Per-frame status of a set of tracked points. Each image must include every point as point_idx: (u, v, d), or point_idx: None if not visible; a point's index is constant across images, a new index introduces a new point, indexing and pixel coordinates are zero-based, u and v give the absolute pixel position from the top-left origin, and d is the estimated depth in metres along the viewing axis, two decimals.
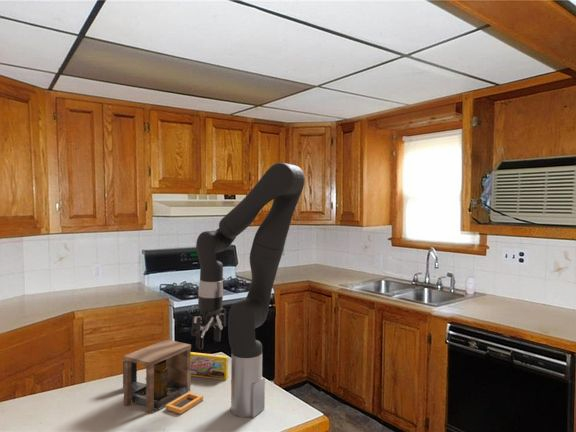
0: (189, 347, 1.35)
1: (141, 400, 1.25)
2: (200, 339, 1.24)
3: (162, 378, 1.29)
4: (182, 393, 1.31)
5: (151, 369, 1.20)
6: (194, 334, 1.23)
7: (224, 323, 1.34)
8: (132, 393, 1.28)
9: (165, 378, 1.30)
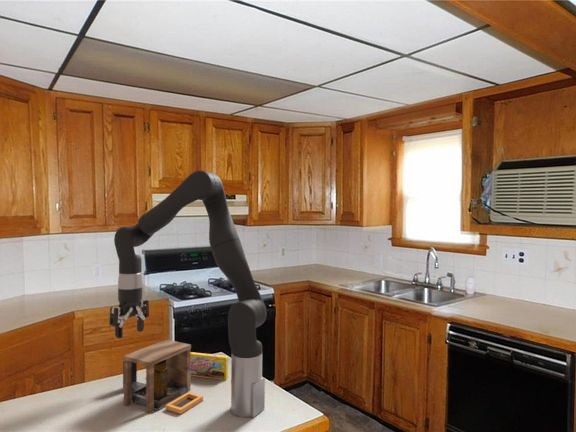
0: (189, 347, 1.35)
1: (141, 400, 1.25)
2: (119, 328, 1.31)
3: (162, 378, 1.29)
4: (182, 393, 1.31)
5: (151, 369, 1.20)
6: (112, 324, 1.30)
7: (147, 314, 1.41)
8: (132, 393, 1.28)
9: (165, 378, 1.30)
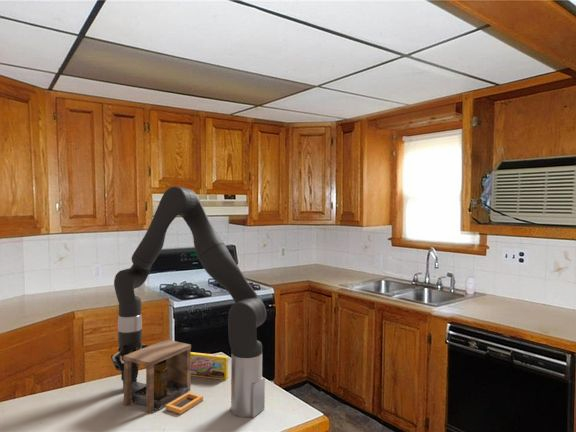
0: (189, 347, 1.35)
1: (141, 400, 1.25)
2: None
3: (162, 378, 1.29)
4: (182, 393, 1.31)
5: (151, 369, 1.20)
6: (118, 368, 1.32)
7: None
8: (132, 393, 1.28)
9: (165, 378, 1.30)
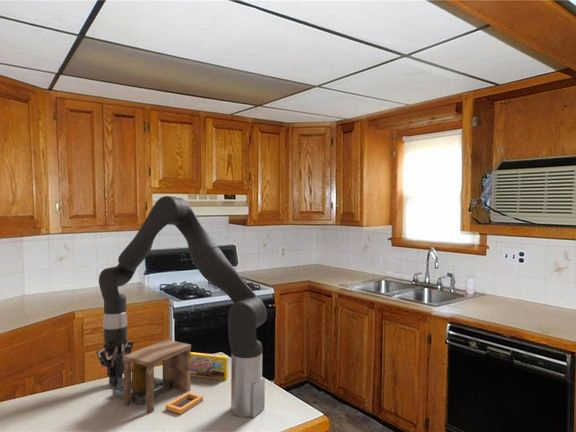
0: (189, 347, 1.35)
1: None
2: (111, 368, 1.37)
3: None
4: (166, 388, 1.34)
5: (151, 369, 1.20)
6: (104, 364, 1.36)
7: None
8: (117, 388, 1.31)
9: None
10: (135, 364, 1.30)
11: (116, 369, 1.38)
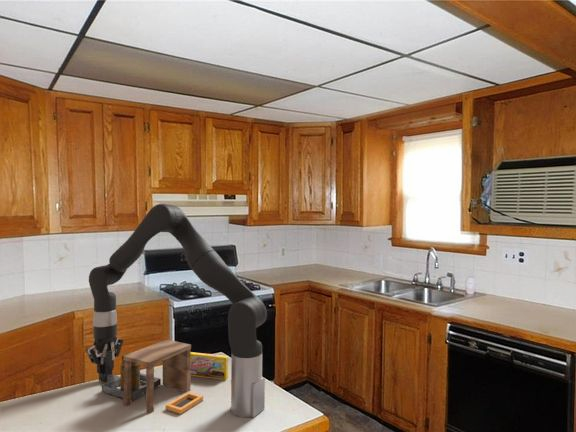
0: (189, 347, 1.35)
1: (114, 391, 1.31)
2: (100, 365, 1.40)
3: (136, 372, 1.34)
4: (154, 385, 1.36)
5: (151, 369, 1.20)
6: (93, 361, 1.38)
7: (117, 353, 1.45)
8: (106, 385, 1.33)
9: (139, 372, 1.35)
10: None
11: (106, 366, 1.41)
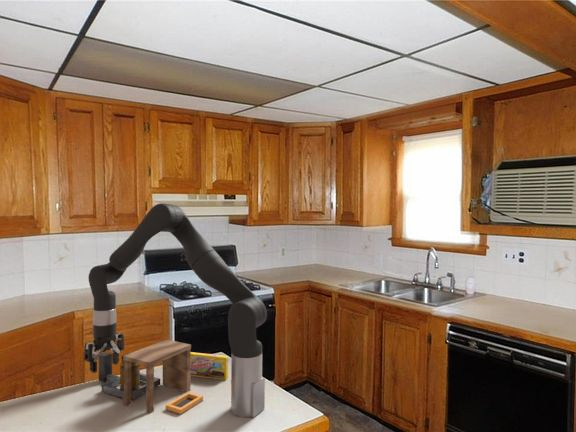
0: (189, 347, 1.35)
1: (114, 391, 1.31)
2: (93, 363, 1.37)
3: (136, 372, 1.34)
4: (154, 385, 1.37)
5: (151, 369, 1.20)
6: (86, 359, 1.36)
7: (122, 347, 1.47)
8: (106, 385, 1.33)
9: (138, 372, 1.35)
10: (123, 361, 1.33)
11: (105, 366, 1.41)
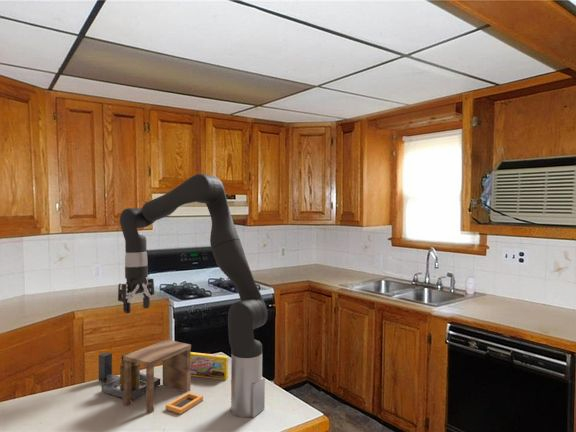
0: (189, 347, 1.35)
1: (114, 391, 1.31)
2: (127, 304, 1.40)
3: (136, 372, 1.34)
4: (154, 385, 1.37)
5: (151, 369, 1.20)
6: (120, 299, 1.38)
7: (152, 292, 1.50)
8: (106, 385, 1.33)
9: (138, 372, 1.35)
10: (123, 361, 1.33)
11: (105, 366, 1.41)
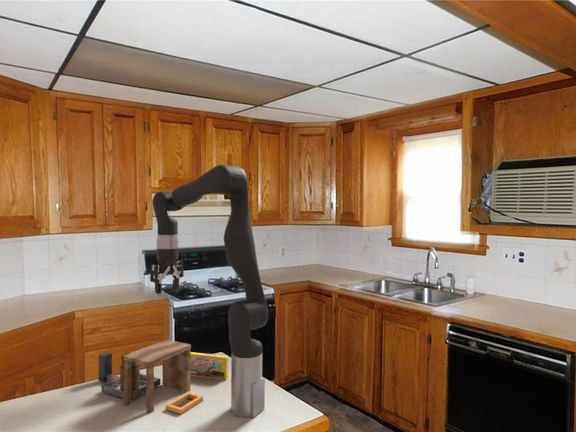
0: (189, 347, 1.35)
1: (114, 391, 1.31)
2: (158, 285, 1.43)
3: (136, 372, 1.34)
4: (154, 385, 1.37)
5: (151, 369, 1.20)
6: (152, 280, 1.42)
7: (182, 274, 1.53)
8: (106, 385, 1.33)
9: (138, 372, 1.35)
10: (123, 361, 1.33)
11: (105, 366, 1.41)
